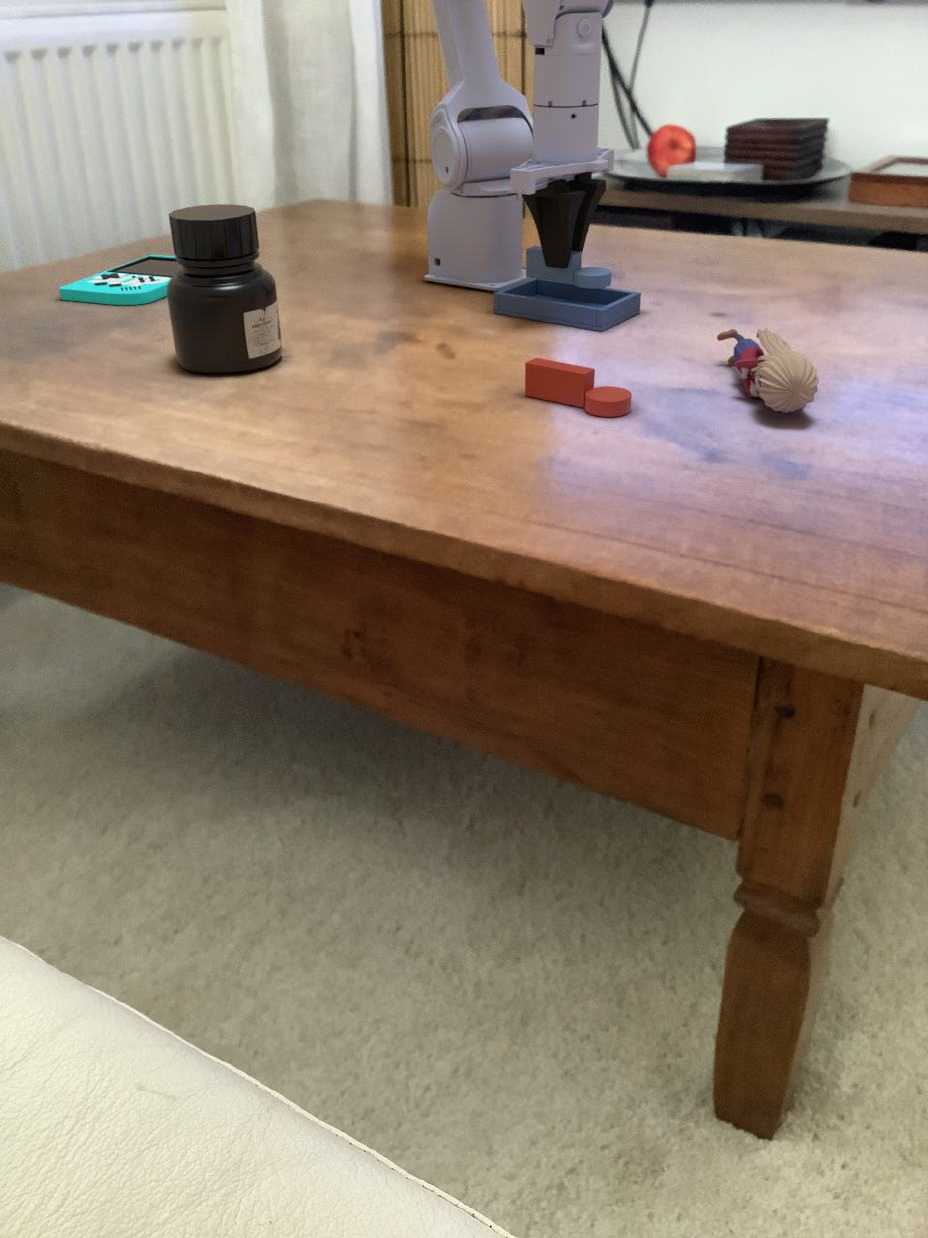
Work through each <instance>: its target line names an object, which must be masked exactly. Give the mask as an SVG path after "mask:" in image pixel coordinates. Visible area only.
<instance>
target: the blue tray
mask: <svg viewBox="0 0 928 1238" xmlns="http://www.w3.org/2000/svg"><path fill="white" fill-rule="evenodd" d="M641 298H642V293H641V292H639V291H632V290H625V289H618V288H612V287H605V288H598V289H588V288H581V287H577V286H575V285H574V283H566V282H559V281H552V280H545V279H538V278H531V279H529V280H526V281H524V282H521V283H518V284H516V285H513V286H511V287H508V288H506V289H503V290H500V291H494V292H493V314H496V315H497V314H498V315H502V316H503V315H504V316H509V317H515V318H521V319H527V320H531V321H532V320H533V321H539V322H544V323H551V324H556V325H563V326H568V327H573V328H580V329H587V330H592V331H597V332H598V331H599V332H603V331H605V330H608V329H610V328H612V327H614V326H616V325H618V324H619V323H622V322H624V321H626V320H628V319H630V318H632V317H634V316H636V315H638V314H641V301H642V300H641Z"/></svg>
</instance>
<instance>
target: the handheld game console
mask: <svg viewBox="0 0 928 1238" xmlns="http://www.w3.org/2000/svg"><path fill="white" fill-rule="evenodd" d="M180 267H182V265H180V264H178V263H177V262H176V260H175V255H161V254H149V255H146V256H143V257H140V258H138V259H135V260H132V261H130V262H127V263H124V264H121V265H118V266H116V267H112V268H110V269H107V270H105V271H102V272H99V273H95V274H94V275H91V276H88V277H85V278H82V279H80V280H77V281H74V282H71V283H68V284H66V285H63V286H60V287H59V288H58V291H59V296H60V299H61V300H63V301H72V302H82V303H92V304H100V305H102V304H103V305H113V306H137V305H145V304H150V303H153V302H155V301H158V300H161V299H162V298H165V297H167V285H168V282H169V281H170V279H171V278H172V277H173V276H175V275H176V271H177V270H178V269H179V268H180Z"/></svg>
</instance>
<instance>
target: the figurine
mask: <svg viewBox="0 0 928 1238" xmlns="http://www.w3.org/2000/svg"><path fill="white" fill-rule="evenodd" d="M757 329H758V330H757V333H756V338H757V339H758V340H759V342H760V344H761V346H762V347H763V348H764V350H765V351H766V352H767V354H765V353H764V350H763V349H762V348H761V346H760V345H759V344H758V343H757V342H756V341H755V340H753V339H751V338H745V337H744V336H743V335H742V334H740V333H739V332H738V330H736V329H734V328H732V329H729V330H726V331H722V332H720V333H718V335H717V336H716V339H717V341H718V342H721V341H725V340H728V339H729V340H730V339H735V340H736V341H737V343H736V344H735V345H734V347H733V355H731V356H730V357H729V358H728V359H727V363H728V364H729V365H734V364H735V367H736V369H737V371H738V372H739V373H740V375H741V376H742V381H743V385H744V389H745V393H746V395H747V397H748V398H761V399H762V400H763V403H764V404H765V406H766V407H769V408H771V409H772V410H773V411H775V412H781V413H784V414H787V413H789V412H791V413H793V412H796V411H797V410H801V409H802V408H806V407H807V404H810V403H813V402H814V401H815V395H816V394H817V393H818V392H819V390H818V384H819V383H820V379H819V378H818V370H817V369H816V368H815V366H813V363H812V361H811V360H810V359H809V358H807V357H805V356H803V355H802V354H801V353H799V352H796V351H794V350H792V348H791V344H790V343H788V342H787V341H785V340H783V338H782V336H780V334H779V333H778V332H772V331H771V330H769V329H768V328H764V329H763V330H761V329H760V328H757Z"/></svg>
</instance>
